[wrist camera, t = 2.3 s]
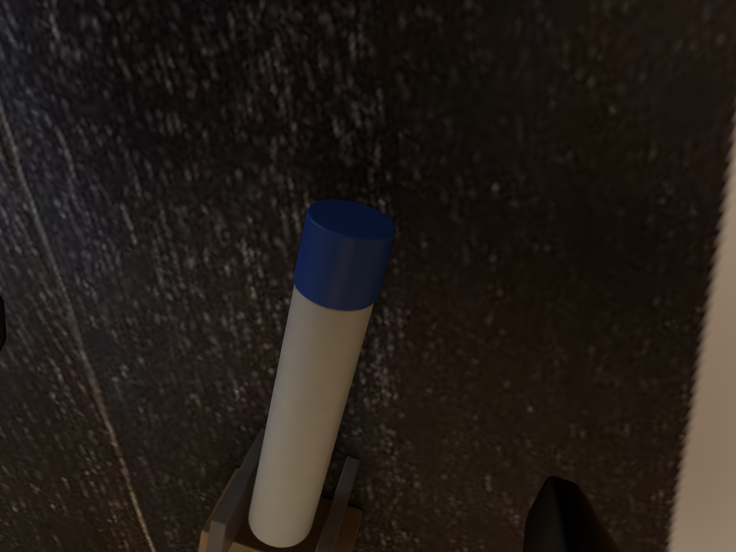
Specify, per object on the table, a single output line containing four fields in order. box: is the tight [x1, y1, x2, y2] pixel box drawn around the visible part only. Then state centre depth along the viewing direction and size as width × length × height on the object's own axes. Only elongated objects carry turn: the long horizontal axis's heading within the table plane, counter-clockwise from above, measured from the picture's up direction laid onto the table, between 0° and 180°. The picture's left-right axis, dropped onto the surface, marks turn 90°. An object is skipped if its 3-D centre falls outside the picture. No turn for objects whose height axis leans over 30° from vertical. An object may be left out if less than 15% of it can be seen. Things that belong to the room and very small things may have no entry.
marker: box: [248, 199, 396, 547], centre depth 16 cm, size 2×10×2 cm, turn 166°
